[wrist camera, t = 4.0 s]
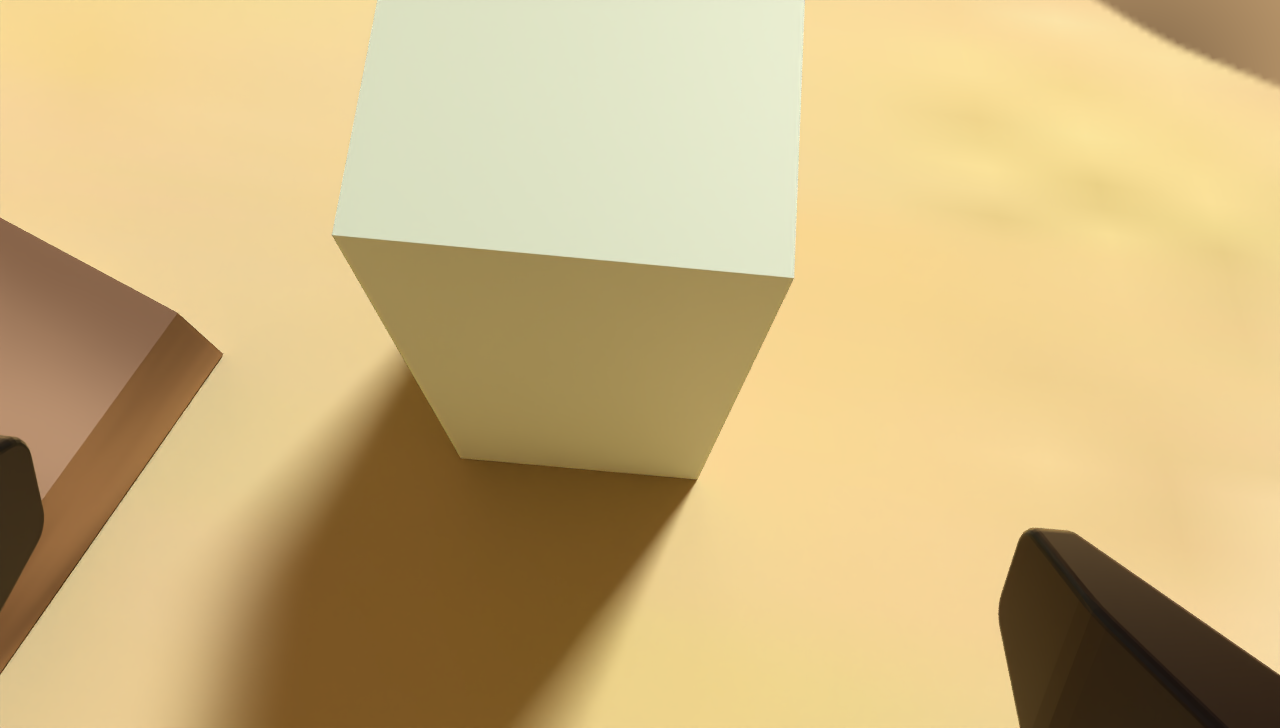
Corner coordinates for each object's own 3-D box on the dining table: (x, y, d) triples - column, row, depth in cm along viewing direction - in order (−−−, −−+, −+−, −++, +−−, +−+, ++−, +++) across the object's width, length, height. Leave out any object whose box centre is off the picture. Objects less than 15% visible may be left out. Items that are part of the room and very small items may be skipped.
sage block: (711, 262, 23) (807, -96, 13) (697, 479, 21) (794, 278, 11) (490, 242, 23) (403, -135, 12) (460, 458, 21) (331, 234, 11)
